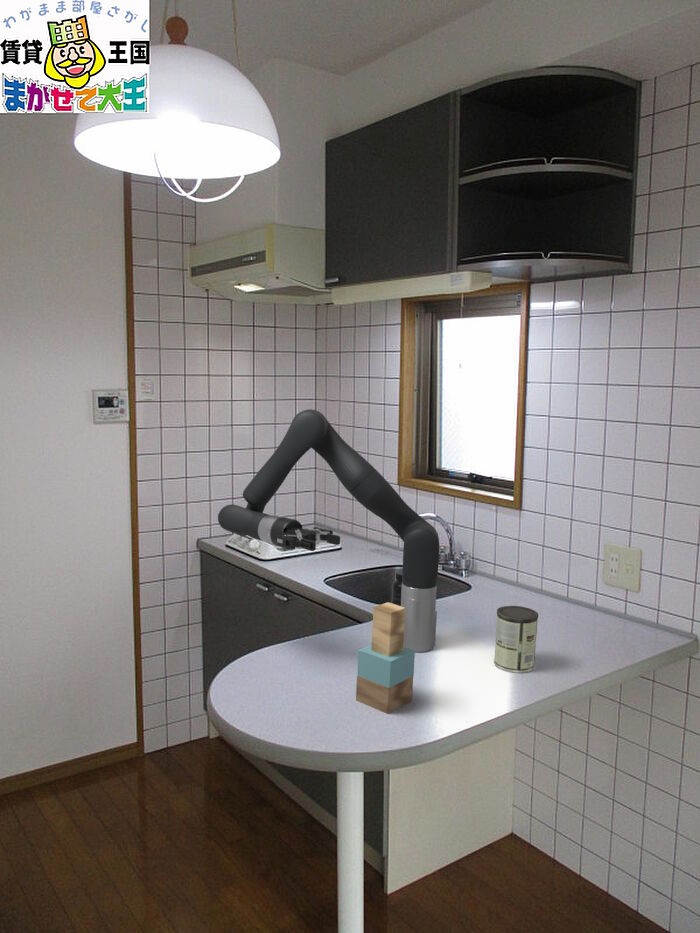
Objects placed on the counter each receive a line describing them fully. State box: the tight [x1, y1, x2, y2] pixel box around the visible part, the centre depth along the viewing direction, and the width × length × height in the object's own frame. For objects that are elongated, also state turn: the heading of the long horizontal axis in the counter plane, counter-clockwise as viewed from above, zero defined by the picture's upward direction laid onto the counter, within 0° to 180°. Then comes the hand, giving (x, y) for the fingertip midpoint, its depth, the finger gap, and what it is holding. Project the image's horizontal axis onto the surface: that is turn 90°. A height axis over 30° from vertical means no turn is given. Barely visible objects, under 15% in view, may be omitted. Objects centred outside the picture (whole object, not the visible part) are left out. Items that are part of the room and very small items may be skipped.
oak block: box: [371, 601, 405, 657], centre depth 173 cm, size 5×5×10 cm
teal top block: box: [356, 644, 416, 688], centre depth 175 cm, size 9×9×6 cm
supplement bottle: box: [391, 570, 402, 606], centre depth 236 cm, size 7×7×12 cm
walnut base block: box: [355, 675, 414, 715], centre depth 175 cm, size 9×9×6 cm
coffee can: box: [493, 605, 539, 674], centre depth 198 cm, size 10×10×14 cm
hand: (327, 543), depth 186 cm, fingers open, 8 cm apart
